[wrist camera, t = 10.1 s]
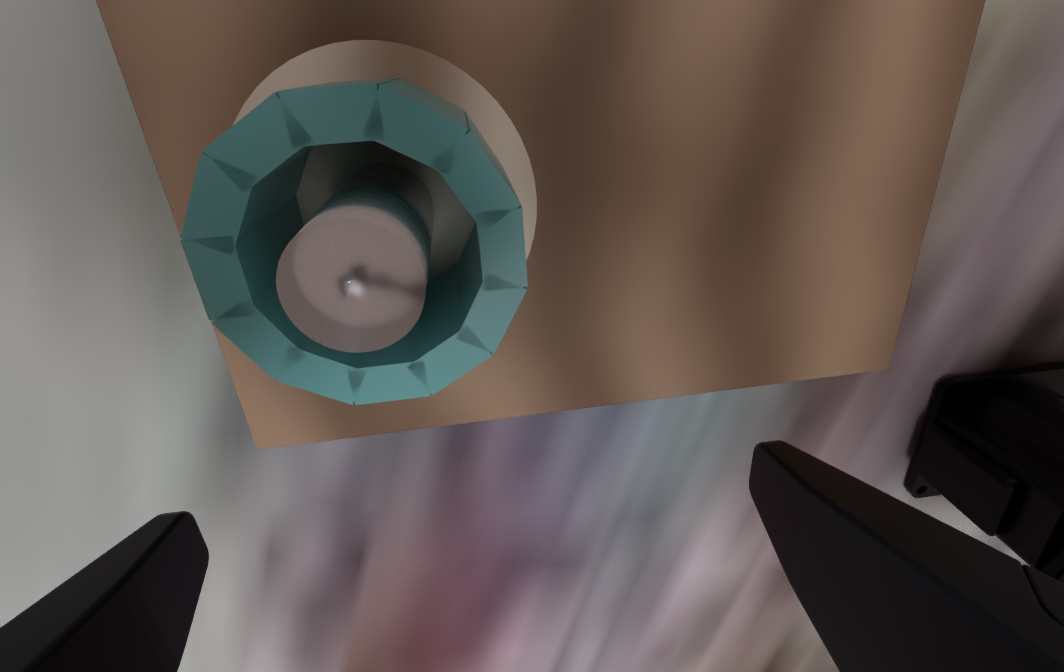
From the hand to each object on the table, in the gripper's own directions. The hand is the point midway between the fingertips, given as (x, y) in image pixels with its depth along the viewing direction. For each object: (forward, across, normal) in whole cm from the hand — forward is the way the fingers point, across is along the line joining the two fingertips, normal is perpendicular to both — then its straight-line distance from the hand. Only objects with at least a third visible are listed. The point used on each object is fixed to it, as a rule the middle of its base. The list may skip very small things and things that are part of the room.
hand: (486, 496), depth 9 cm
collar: (+10, +2, -2) cm, 10 cm away
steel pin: (+10, +2, -2) cm, 11 cm away
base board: (+12, -4, -2) cm, 12 cm away
